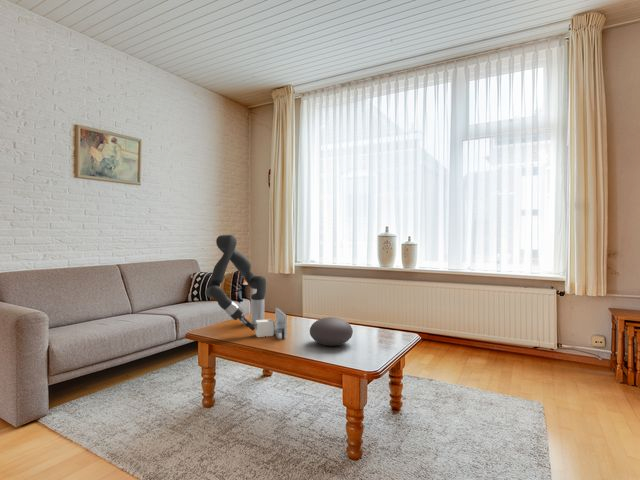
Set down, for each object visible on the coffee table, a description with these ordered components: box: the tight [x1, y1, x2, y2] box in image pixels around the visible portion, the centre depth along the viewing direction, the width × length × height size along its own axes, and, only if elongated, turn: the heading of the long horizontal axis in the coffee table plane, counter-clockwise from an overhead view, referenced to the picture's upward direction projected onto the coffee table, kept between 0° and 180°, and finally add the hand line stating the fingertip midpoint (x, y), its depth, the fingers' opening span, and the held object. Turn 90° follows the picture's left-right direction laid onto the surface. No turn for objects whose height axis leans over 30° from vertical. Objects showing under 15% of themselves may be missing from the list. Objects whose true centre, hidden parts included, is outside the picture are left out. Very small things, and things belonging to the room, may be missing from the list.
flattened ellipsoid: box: [309, 316, 354, 347], centre depth 205 cm, size 25×25×15 cm
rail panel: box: [274, 307, 288, 340], centre depth 225 cm, size 24×5×14 cm, turn 20°
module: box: [254, 318, 275, 338], centre depth 222 cm, size 6×10×10 cm, turn 110°
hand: (253, 329), depth 220 cm, fingers closed
